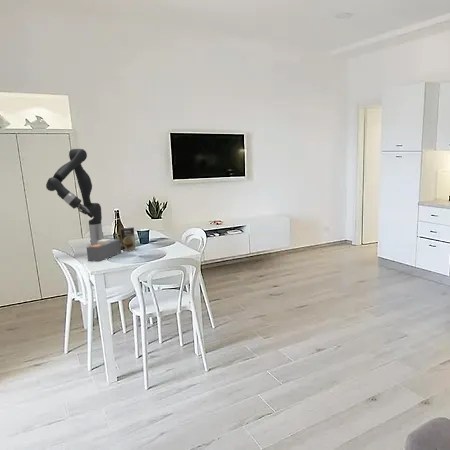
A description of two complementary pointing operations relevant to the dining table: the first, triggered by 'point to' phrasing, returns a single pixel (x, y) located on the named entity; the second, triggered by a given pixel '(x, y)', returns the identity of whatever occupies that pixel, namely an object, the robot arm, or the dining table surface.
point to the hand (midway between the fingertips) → (92, 216)
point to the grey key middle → (103, 242)
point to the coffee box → (128, 239)
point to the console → (103, 251)
